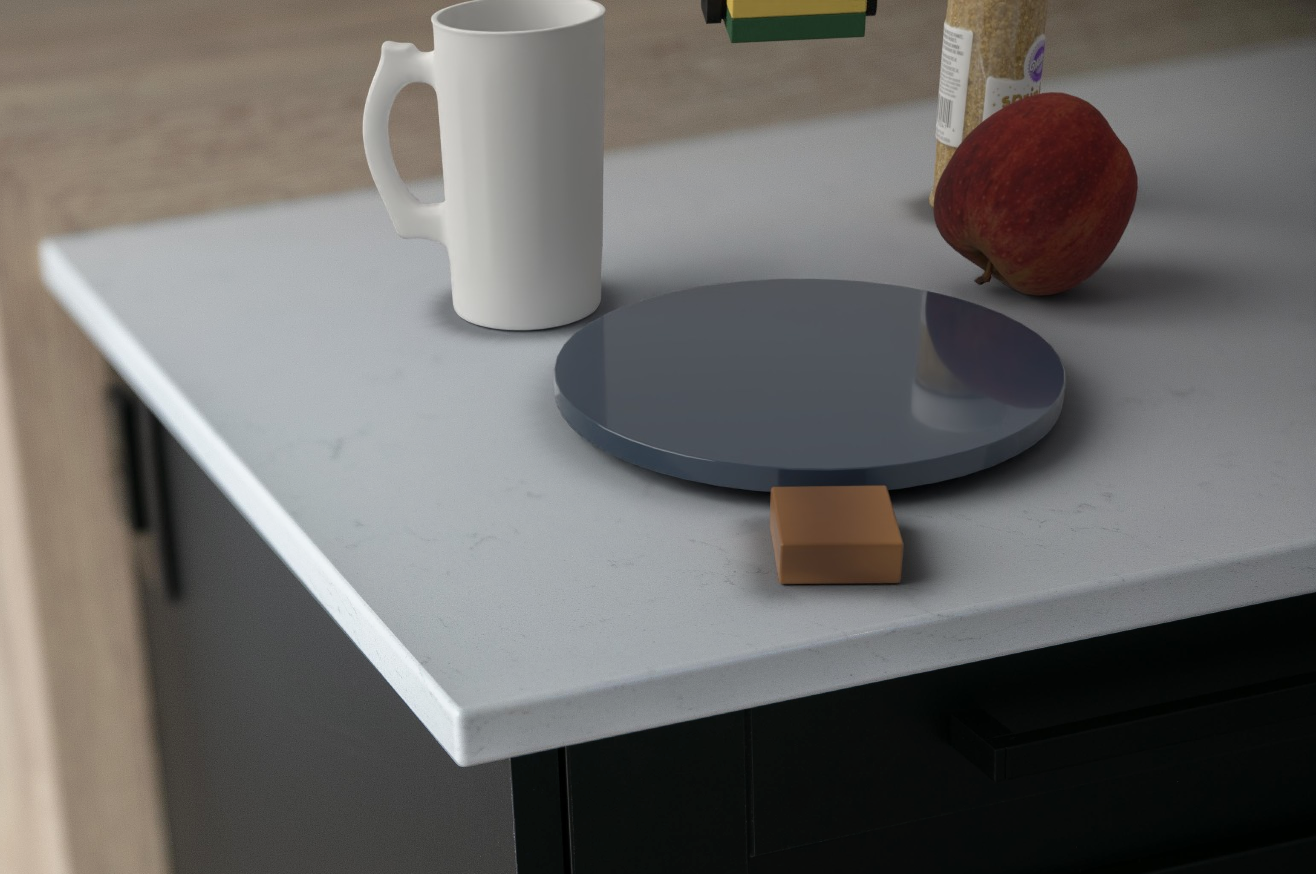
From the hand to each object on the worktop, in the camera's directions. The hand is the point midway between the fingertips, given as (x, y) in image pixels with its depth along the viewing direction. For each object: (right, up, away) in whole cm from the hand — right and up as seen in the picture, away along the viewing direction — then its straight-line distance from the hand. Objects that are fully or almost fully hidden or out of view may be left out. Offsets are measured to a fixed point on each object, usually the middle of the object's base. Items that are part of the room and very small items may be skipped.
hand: (786, 6), depth 65 cm
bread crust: (0, -19, -7) cm, 21 cm away
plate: (+1, -13, +3) cm, 14 cm away
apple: (+12, -8, +11) cm, 19 cm away
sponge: (0, 0, 0) cm, 0 cm away
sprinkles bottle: (+13, -3, +21) cm, 25 cm away
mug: (-10, -8, +14) cm, 19 cm away
